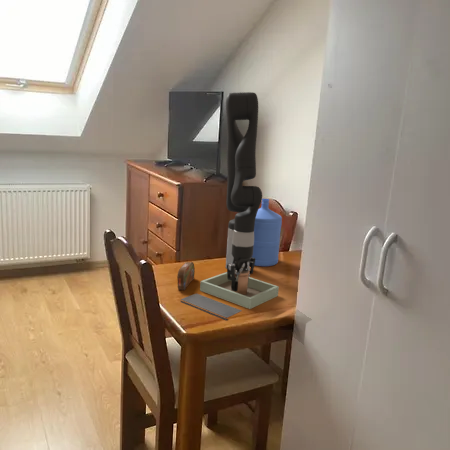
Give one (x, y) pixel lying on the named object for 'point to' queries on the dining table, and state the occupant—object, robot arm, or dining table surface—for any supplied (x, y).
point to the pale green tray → (222, 289)
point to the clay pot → (242, 282)
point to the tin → (185, 275)
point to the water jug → (266, 236)
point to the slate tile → (210, 306)
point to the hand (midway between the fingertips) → (239, 288)
